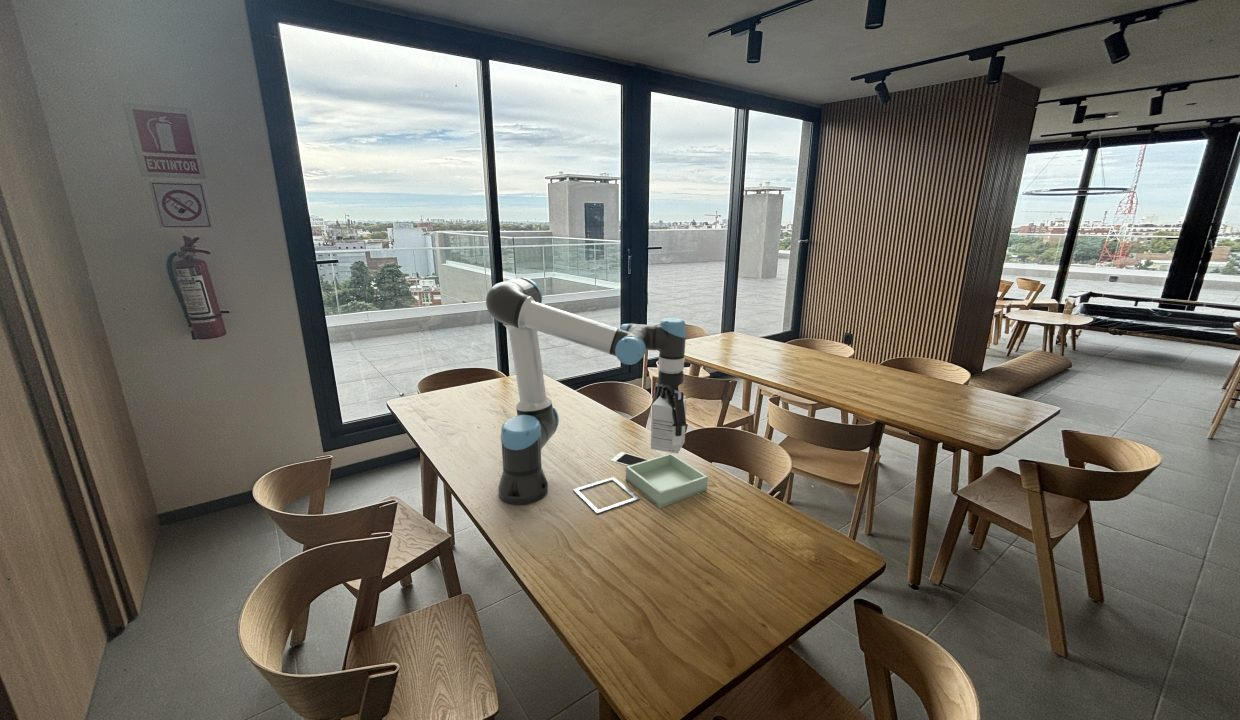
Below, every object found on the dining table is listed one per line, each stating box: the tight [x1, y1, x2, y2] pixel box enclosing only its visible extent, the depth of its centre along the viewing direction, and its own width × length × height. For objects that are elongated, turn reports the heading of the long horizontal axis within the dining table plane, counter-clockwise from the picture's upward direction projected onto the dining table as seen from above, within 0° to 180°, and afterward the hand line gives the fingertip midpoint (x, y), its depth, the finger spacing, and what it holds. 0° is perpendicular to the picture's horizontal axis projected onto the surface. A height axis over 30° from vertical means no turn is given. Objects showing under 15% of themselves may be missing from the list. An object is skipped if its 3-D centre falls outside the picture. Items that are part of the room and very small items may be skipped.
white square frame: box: [573, 476, 640, 515], centre depth 152 cm, size 15×15×1 cm
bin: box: [625, 452, 709, 509], centre depth 158 cm, size 19×19×5 cm
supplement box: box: [650, 395, 687, 455], centre depth 152 cm, size 9×9×15 cm
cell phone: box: [610, 451, 650, 467], centre depth 173 cm, size 8×16×1 cm, turn 60°
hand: (668, 436), depth 153 cm, fingers closed on supplement box, 12 cm apart
